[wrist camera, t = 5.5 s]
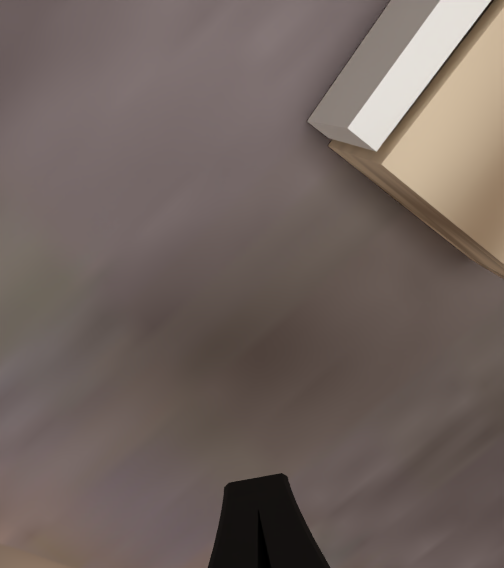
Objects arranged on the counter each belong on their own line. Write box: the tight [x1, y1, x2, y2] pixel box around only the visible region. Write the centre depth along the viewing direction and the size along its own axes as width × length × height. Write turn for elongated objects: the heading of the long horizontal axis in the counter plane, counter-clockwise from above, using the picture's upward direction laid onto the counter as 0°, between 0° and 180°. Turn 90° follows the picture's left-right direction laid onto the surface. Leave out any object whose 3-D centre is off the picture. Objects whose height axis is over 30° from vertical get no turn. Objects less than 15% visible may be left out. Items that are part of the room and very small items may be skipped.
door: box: [307, 0, 491, 152], centre depth 12 cm, size 1×8×5 cm, turn 145°
